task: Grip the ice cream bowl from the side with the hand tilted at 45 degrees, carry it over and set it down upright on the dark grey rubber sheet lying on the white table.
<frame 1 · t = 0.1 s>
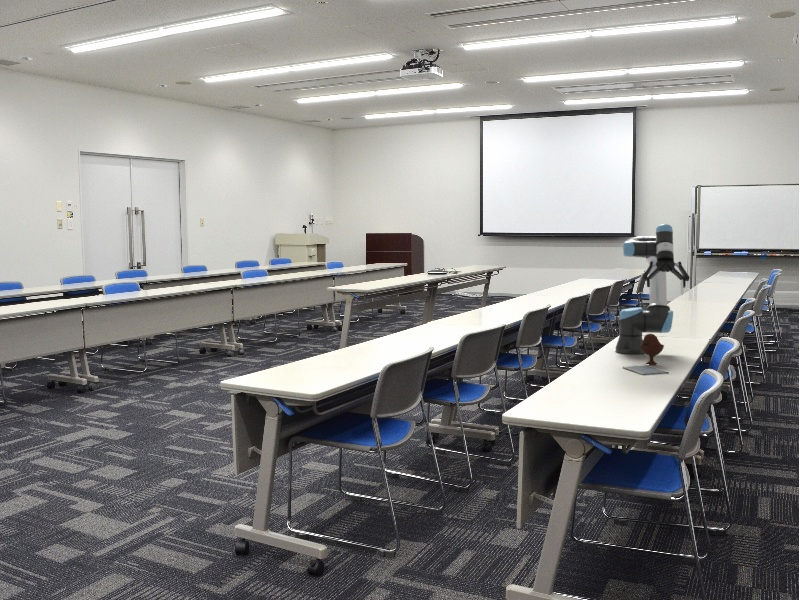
hand: (666, 293, 326), 36 cm above the table, tool tilted 35°, fingers open, 13 cm apart
ice cream bowl: (651, 364, 343), on the table
rubber sheet: (645, 370, 328), on the table
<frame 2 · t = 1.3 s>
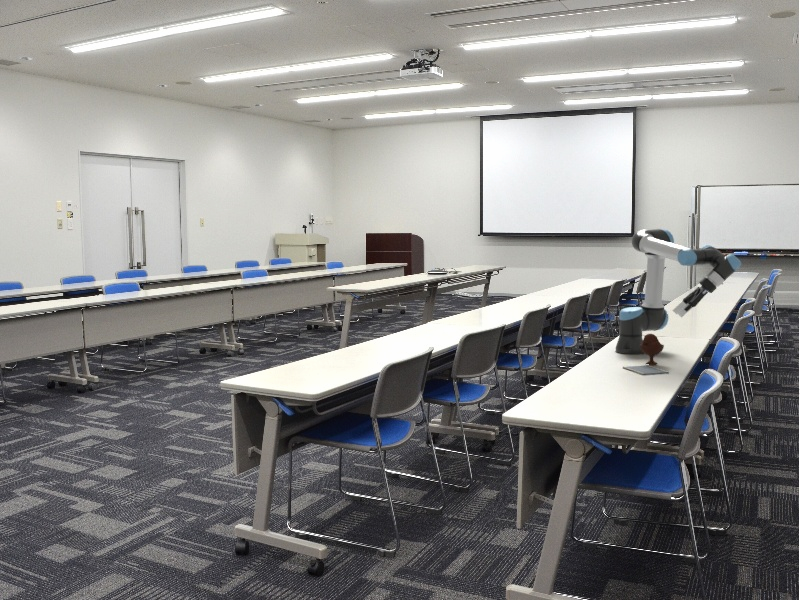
hand: (676, 314, 338), 25 cm above the table, tool tilted 45°, fingers open, 13 cm apart
nothing on the table moved.
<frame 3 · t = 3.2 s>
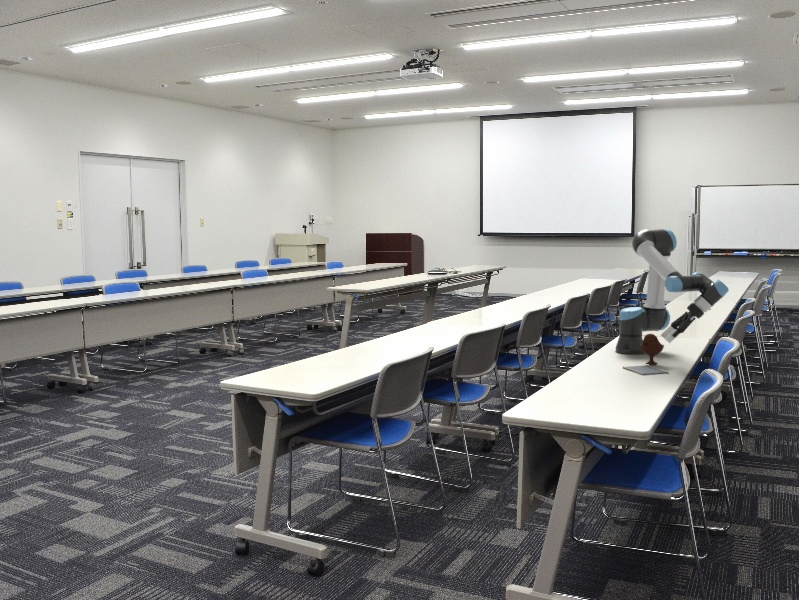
hand: (664, 339, 340), 12 cm above the table, tool tilted 45°, fingers open, 13 cm apart
nothing on the table moved.
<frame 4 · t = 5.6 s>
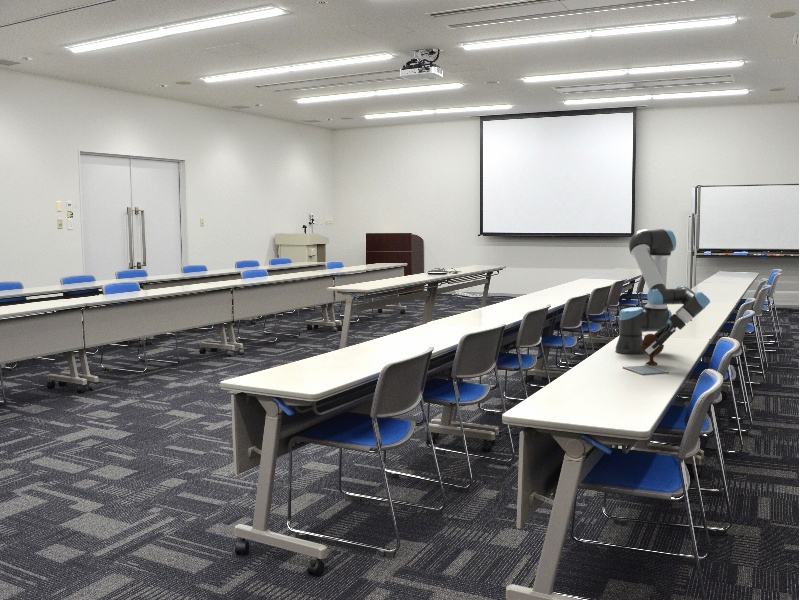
hand: (645, 350, 343), 7 cm above the table, tool tilted 45°, fingers closed on ice cream bowl, 11 cm apart
ice cream bowl: (651, 364, 343), on the table, touching gripper
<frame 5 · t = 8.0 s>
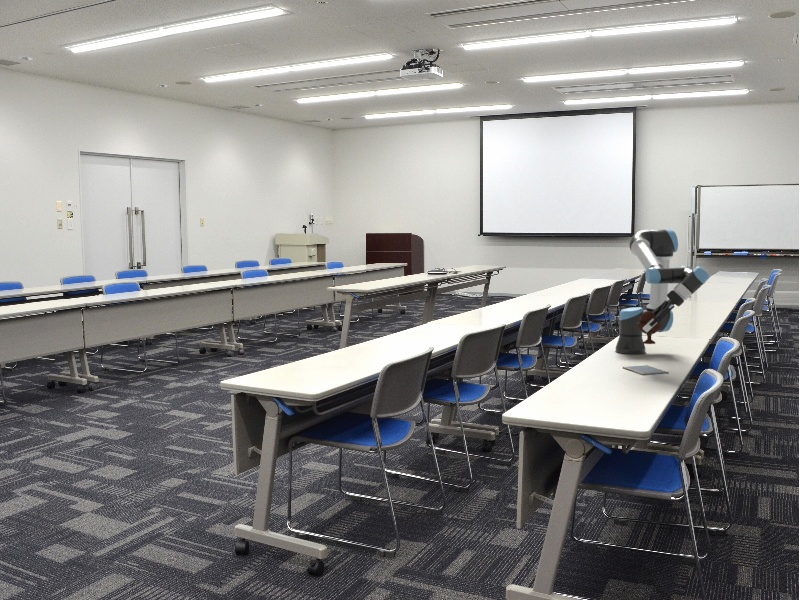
hand: (642, 328, 330), 19 cm above the table, tool tilted 45°, fingers closed on ice cream bowl, 11 cm apart
ice cream bowl: (649, 343, 330), point 12 cm above the table, touching gripper
when the fingers open (8 cm above the table, at t = 10.8 s): ice cream bowl stays where it is, resting on rubber sheet.
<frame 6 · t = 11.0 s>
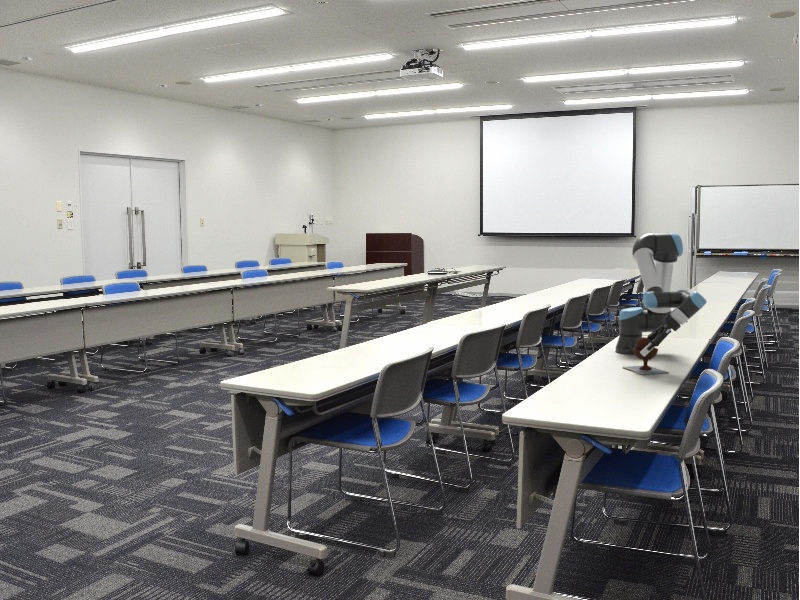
hand: (640, 352, 328), 9 cm above the table, tool tilted 45°, fingers open, 13 cm apart
ice cream bowl: (645, 369, 328), resting on rubber sheet
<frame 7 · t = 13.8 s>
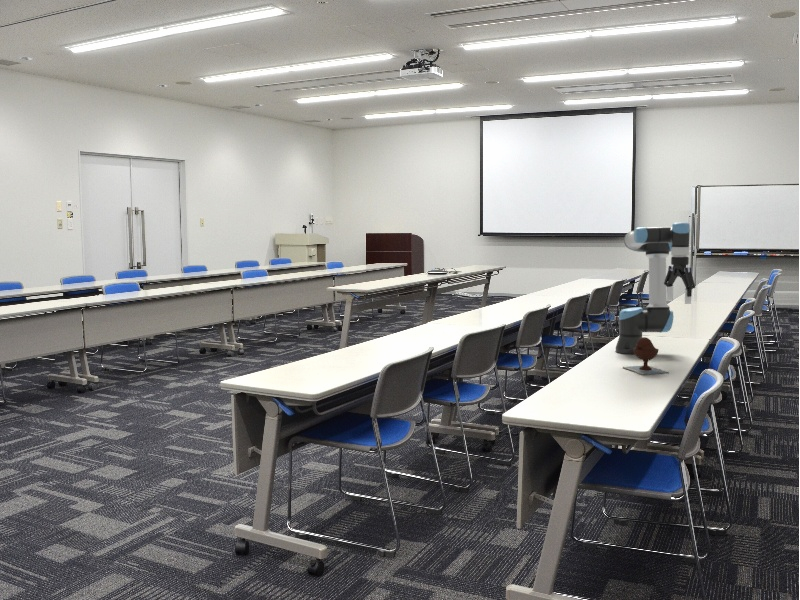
hand: (678, 302, 331), 31 cm above the table, tool pointing down, fingers open, 13 cm apart
nothing on the table moved.
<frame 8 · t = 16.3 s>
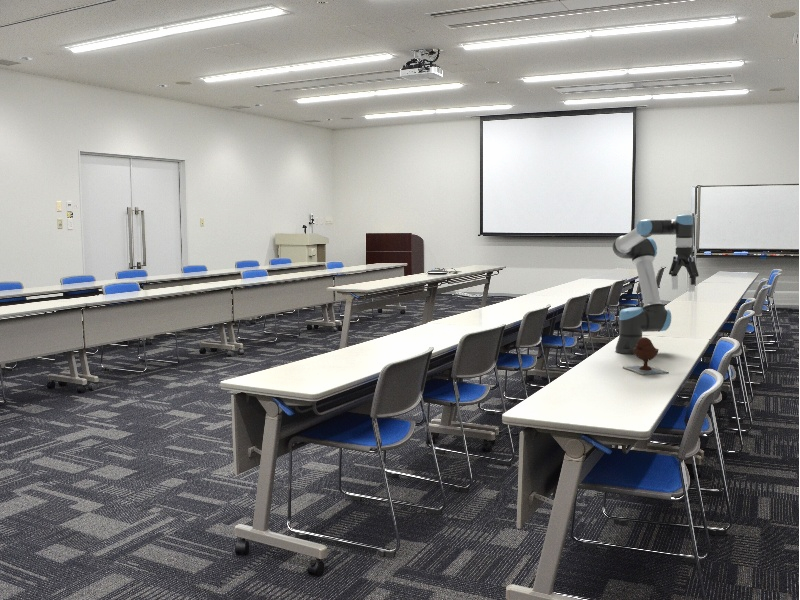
hand: (683, 290, 348), 35 cm above the table, tool pointing down, fingers open, 13 cm apart
nothing on the table moved.
at the end: ice cream bowl inside the target area on the rubber sheet (0.2 cm from its centre), point 0.4 cm above the rubber sheet's base; ice cream bowl tilted 0°; the gripper is holding nothing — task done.
